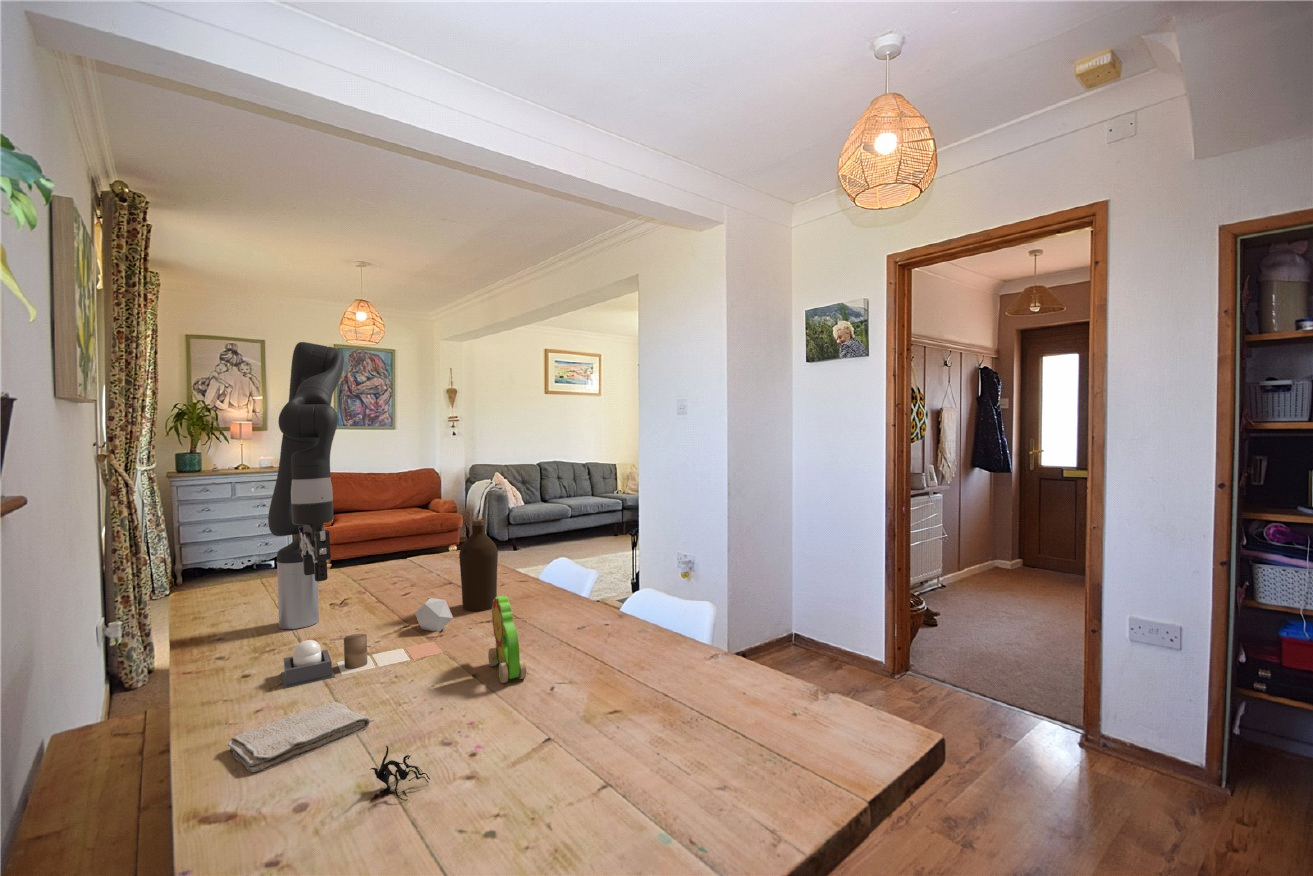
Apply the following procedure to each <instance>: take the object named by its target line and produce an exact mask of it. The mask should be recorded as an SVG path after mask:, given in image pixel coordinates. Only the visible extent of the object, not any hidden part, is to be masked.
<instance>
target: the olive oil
mask: <svg viewBox="0 0 1313 876" xmlns="http://www.w3.org/2000/svg"><path fill="white" fill-rule="evenodd" d="M471 521H472V525H471V531H472V532H471V533H470V536H468V538H467V539H466V540H465V541H464V542H463V544H462V545H461V547H460V550H459V553H458V554H459V555H458V557H459V566H460V567H459V569H460V578H461V579H460V580H461V581H460V583H461V598H462V599H461V600H462V609H463V610H465V611H468V612H481V611H488V610H490V609H491V610H492V606H493V600H494V599H495V597H498V595H497V591H498V589H497V588H498V556H499V554H498V553H499V552H498V548H497V544H496V543H495V542H494V541H493V540H492V539H491V538H490V536H488V535H487V534H486V532H485V524H484V522H485V520H484V519H482V518H479V519H477V518H476V519H472V520H471Z"/></svg>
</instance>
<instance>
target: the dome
mask: <svg viewBox="0 0 1313 876" xmlns="http://www.w3.org/2000/svg"><path fill="white" fill-rule="evenodd" d="M321 651H322V648H321V645H320V644H319V642H317V641H316V640H314V639H306V640H303V641H301V642H299V643H298V644H297V645H296V646H295V647H294V650H293V654H292V657H293V668H294V667H299V666H304V665H309V664H313V663H318V662H321Z"/></svg>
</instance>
